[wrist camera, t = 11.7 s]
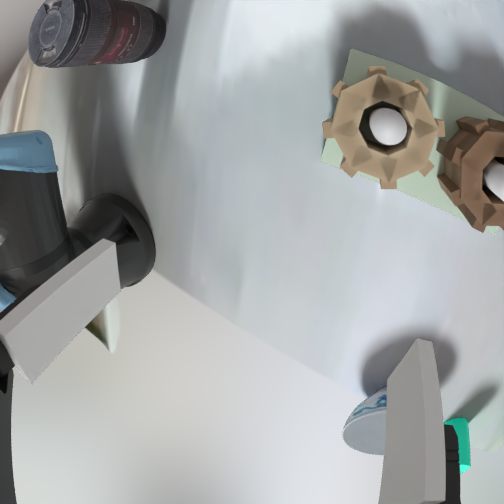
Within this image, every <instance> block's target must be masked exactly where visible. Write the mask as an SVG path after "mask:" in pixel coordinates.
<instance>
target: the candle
mask: <svg viewBox="0 0 504 504" xmlns="http://www.w3.org/2000/svg"><path fill="white" fill-rule="evenodd" d="M444 424H447V425H453V427H454V429H455V431H456V434H457V436H458V443H459V451H458V453H459V463H460V474H461V473H463V472H464V471H466V470H467V469H469V468H470V441H469V428H468V421H467V419H466V418H461V417H459V418H453V419H451V420H448V421H446V422H445V423H444Z"/></svg>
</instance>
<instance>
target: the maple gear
mask: <svg viewBox="0 0 504 504" xmlns="http://www.w3.org/2000/svg"><path fill="white" fill-rule="evenodd" d="M367 76H368V78H367V79H365V80H363V81H361V82H359V83H357V84H354V85H352V86H350V87H349V86H347V85H346V84H345V83H343V82H342V81H341V80H340V81H339V82H338V83H337V84H336V86H335V87H334V88H333V89H332V91H331V93H332V94H333V95H334V96H336V97H337V98H338V99H339V101H338V105H337V109H336V112H335V116H334V118H331V119H327V120H326V121H324V122H322V126H323V134H324V139H325V138H335V140H336V141H337V143H338V145H339V147H340V149H341V151H342V153H343V154H344V155H343V158H342V161H341V164H340V168H341V169H343V170H344V171H345V172H346V173H347V174H348V175H349V176H350V177H353V176H354V175H355V174H356V173H357V172H358V171H360V172H363V173H366V174H368V175H371V176H373V177H376V178H379V180H380V185H381V189H397V179H399V178H402V177H404V176H406V175H409V174H411V173H413V172H416V171H419V172H420V173H421V174H422V175H423V176H424V177H425V176H426V175H427V174H428V173H429V172H430V171H431V170H432V169H433V168H434V167H435V166H434V165H433V164H432V163H431V162H430V160H429V156H430V154H431V151H432V148H433V145H434V142H435V139H436V137H445V125H444V120H440V119H436V118H434V117H433V115H432V113H431V111H430V109H429V107H428V105H427V102H426V100H425V98H424V96H425V95H426V94H427V93H428V92H429V89H428V88H427V87H426V86H425V85H424V84H423V83H422V82H421V81H419V80H418V79H414V80H411V81H409V82H406V83H403V82H401V81H398V80H396V79H393V78H391V77H388V76H387V73H386V66H369V68H368V71H367ZM378 102H383V103H385V104H388V105H390V106H393V107H395V109H396V111H397V112H399V113H400V114H401V115H402V116H403V118H404V119H405V121H406V124H407V132H406V135H405V137H404V139H403V140H402V141H401V142H400V143H398V144H395V145H386V144H384V145H381V144H378V143H376V142H373V141H371V140H368V139H366V137H365V135H364V133H363V131H362V130H361V128H360V126H359V124H360V121H361V118H362V114H363V111H364V109H366V108H368V107H370V106H372V105H374V104H376V103H378Z"/></svg>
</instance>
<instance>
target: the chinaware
mask: <svg viewBox="0 0 504 504" xmlns="http://www.w3.org/2000/svg"><path fill="white" fill-rule="evenodd" d="M386 412H387V387H385V388H382V389H380V390H378V391H377V392H376V393H375V394H374V395H372V396H370V397H369V398H367V399H366V400H364V401H363V402H362V403H360V404H359V405H358V406H357V407H356V408H355V410H354V411H353V412H352V413H351V415H350V416H349V418H348V420H347V422H346V424H345V426H344V428H343V431H342V438H343V440H344V442H345V443H346V444H347V445H348V446H349V447H351V448H352V449H354V450H357V451H359V452H362V453H367V454H372V455H384V449H385V434H386Z"/></svg>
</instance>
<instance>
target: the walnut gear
mask: <svg viewBox="0 0 504 504" xmlns="http://www.w3.org/2000/svg"><path fill="white" fill-rule="evenodd" d="M456 122H457V125H458V127H459V130H458V131H457V132H456V133H455V134H454V136H453V137H452V138H451V139H450V140H449V141H448V142H447V141H445V140H443V139H441V138H440V140H439V143H438V146H437V149H436V151H438V152H439V153H440V154H442V155H443V156H444V173H443V174H440V175H438V176H437V179H438V181H439V184H440V187H441V189H442V190H443V191H444V192H445V194H446V195H447V196H448V197H449V199H450V200H451V201H452V203H453V204H454V205H455V206H457V207H458V209H459V210H460V211H461V213H462V214H463V215H464V217H465V218H466V219H467V221H468V222H469V223H470V225H471V226H472V227H473V228H475V229H477V230H479V231H480V232H482V233H483V232H484V230H485V228H486V226H500V227H501V228H502V229H503V230H504V201H503V200H501V199H500V198H499V197H498V196H497V195H496V194H495V193H493V192H492V191H491V190H490V189H489V188H488V187H486V186H485V185H483V184H482V177H483V169H484V168H485V167H486V166H487V165H488V163H489V162H490V161H491V160H492V159H493V158H495V160H496V161H497V162H499V163H501V164H503V165H504V122H503V121H499V120H495V119H490V118H488V120H487V121H486V120H482V119H477V118H473V117H468V116H465V117H463V118H460V119H458V120H456Z"/></svg>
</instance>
